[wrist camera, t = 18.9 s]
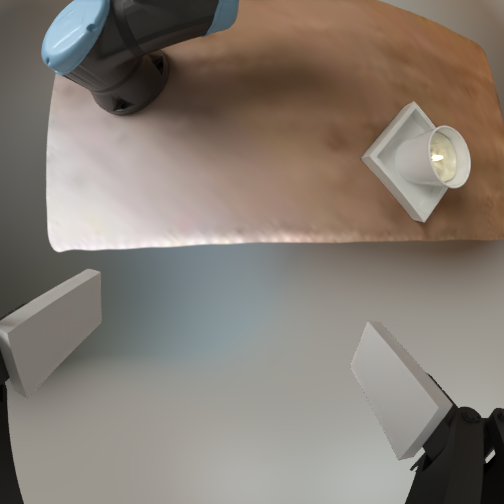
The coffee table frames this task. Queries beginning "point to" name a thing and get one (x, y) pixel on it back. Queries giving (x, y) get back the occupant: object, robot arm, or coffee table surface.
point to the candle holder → (435, 158)
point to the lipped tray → (384, 166)
